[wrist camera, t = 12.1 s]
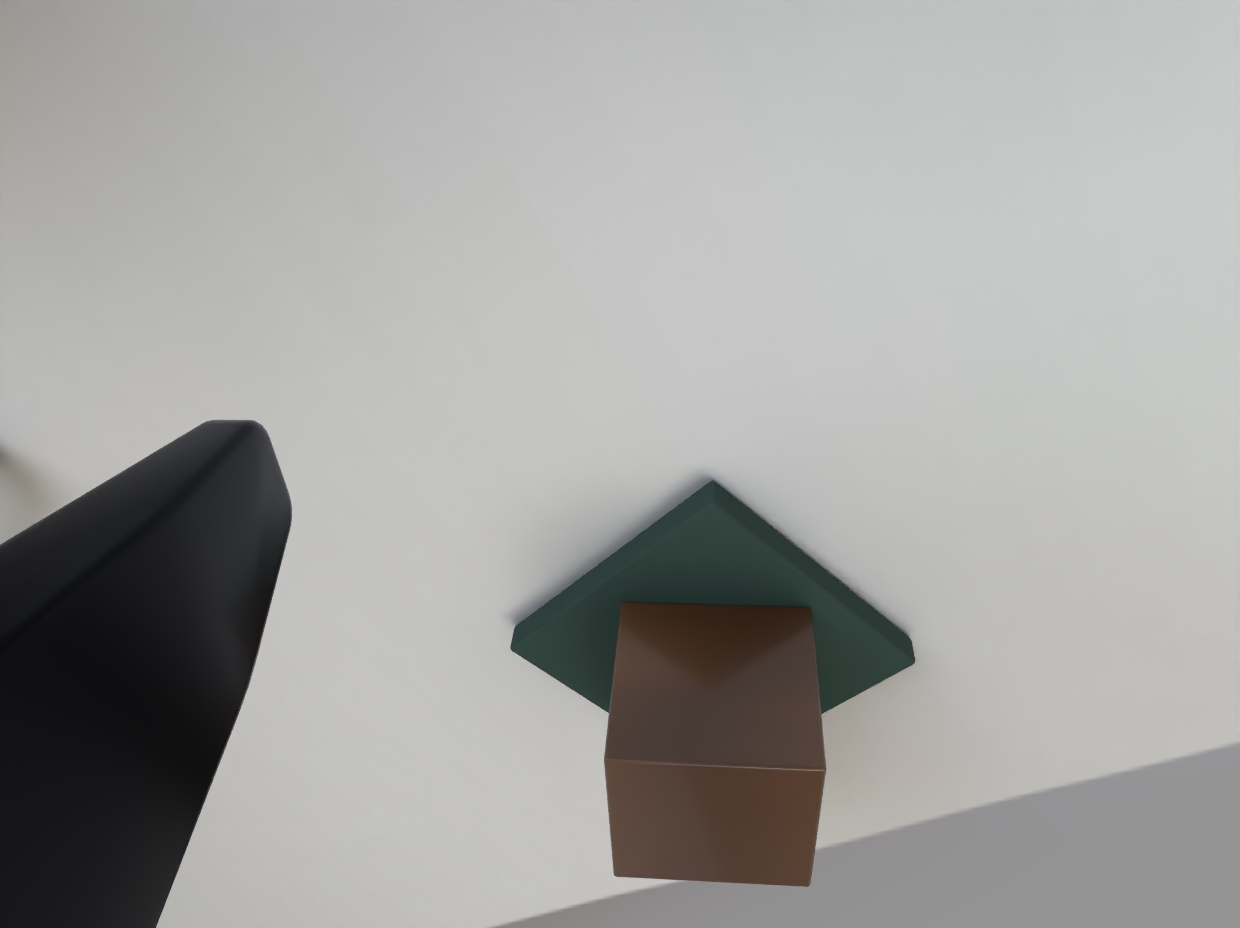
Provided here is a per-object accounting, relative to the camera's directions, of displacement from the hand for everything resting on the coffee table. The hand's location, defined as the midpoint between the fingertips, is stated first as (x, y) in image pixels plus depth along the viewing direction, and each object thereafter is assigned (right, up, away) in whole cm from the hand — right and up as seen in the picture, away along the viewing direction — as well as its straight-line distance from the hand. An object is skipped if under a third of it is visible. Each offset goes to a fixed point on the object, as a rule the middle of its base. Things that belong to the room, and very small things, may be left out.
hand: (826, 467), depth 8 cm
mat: (+1, -4, +18) cm, 18 cm away
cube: (+1, -5, +17) cm, 18 cm away
